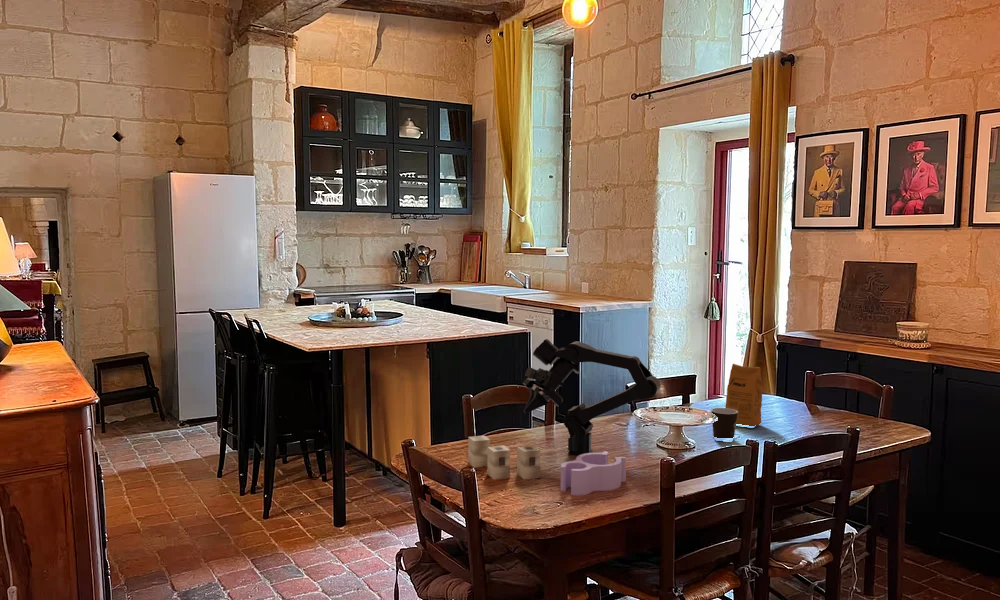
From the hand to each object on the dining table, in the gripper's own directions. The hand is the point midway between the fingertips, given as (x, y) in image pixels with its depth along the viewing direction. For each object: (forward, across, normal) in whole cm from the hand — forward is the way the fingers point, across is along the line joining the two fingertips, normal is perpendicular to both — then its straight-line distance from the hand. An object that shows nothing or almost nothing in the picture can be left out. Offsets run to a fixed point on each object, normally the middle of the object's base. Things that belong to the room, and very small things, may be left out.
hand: (524, 412), depth 231 cm
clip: (+6, +32, +14) cm, 36 cm away
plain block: (+21, +4, -2) cm, 22 cm away
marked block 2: (+15, +19, +5) cm, 24 cm away
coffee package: (-53, -5, +73) cm, 90 cm away
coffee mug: (-40, +8, +60) cm, 73 cm away
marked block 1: (+20, +16, -1) cm, 26 cm away
